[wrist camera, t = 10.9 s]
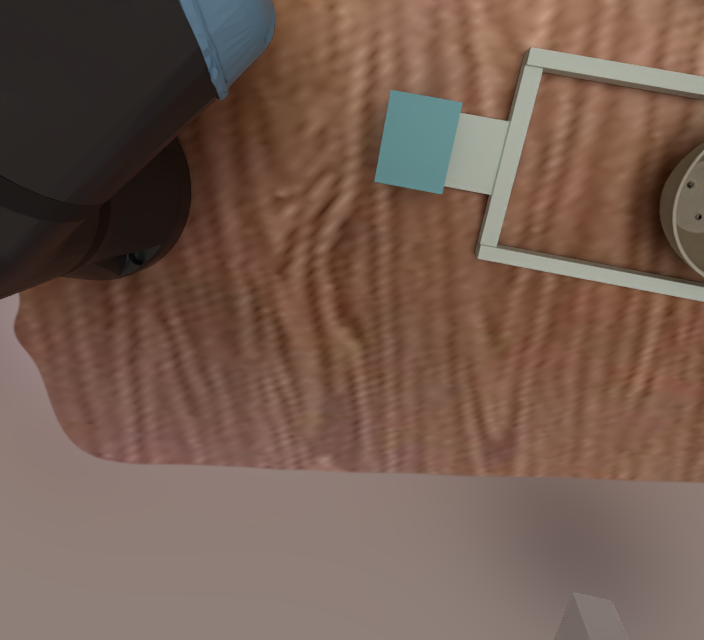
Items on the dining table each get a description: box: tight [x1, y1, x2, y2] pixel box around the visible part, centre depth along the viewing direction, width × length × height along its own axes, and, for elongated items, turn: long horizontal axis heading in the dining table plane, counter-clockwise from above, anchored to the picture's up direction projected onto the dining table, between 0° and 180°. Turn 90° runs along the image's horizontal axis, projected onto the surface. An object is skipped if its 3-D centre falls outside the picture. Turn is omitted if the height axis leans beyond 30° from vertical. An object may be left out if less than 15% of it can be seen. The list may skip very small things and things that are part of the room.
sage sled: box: [374, 47, 704, 302], centre depth 34 cm, size 28×14×9 cm, turn 80°
